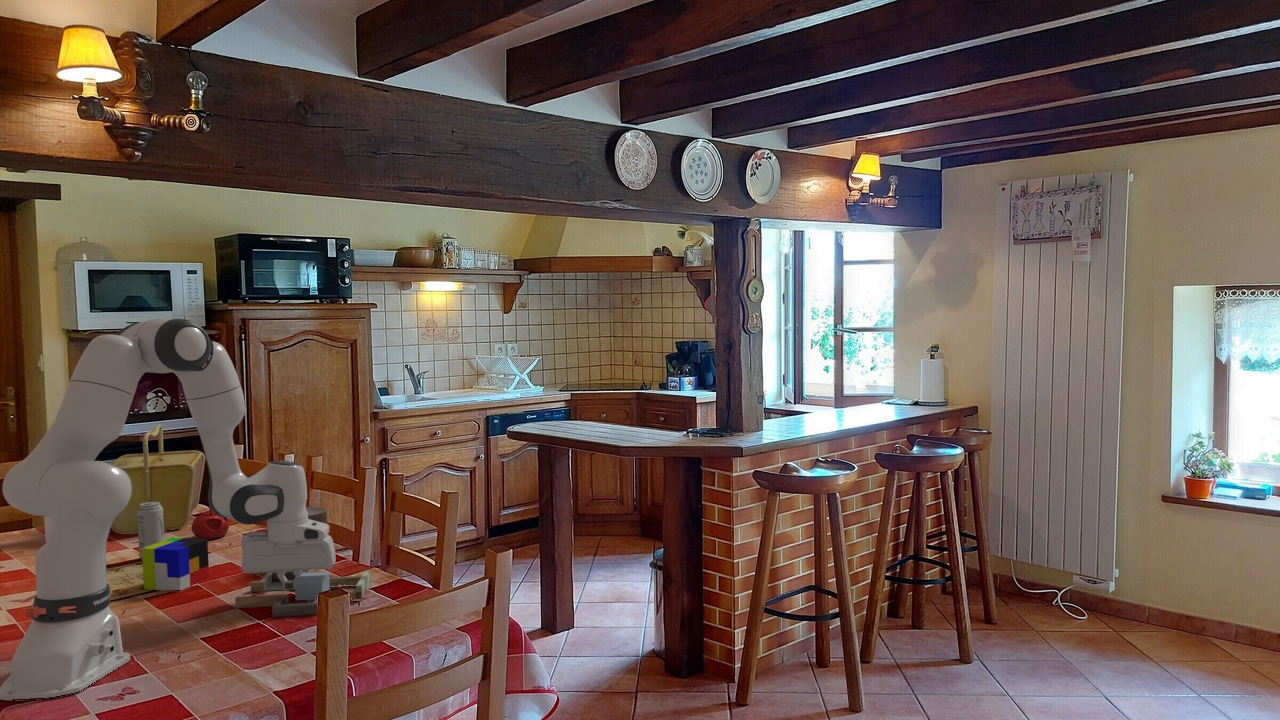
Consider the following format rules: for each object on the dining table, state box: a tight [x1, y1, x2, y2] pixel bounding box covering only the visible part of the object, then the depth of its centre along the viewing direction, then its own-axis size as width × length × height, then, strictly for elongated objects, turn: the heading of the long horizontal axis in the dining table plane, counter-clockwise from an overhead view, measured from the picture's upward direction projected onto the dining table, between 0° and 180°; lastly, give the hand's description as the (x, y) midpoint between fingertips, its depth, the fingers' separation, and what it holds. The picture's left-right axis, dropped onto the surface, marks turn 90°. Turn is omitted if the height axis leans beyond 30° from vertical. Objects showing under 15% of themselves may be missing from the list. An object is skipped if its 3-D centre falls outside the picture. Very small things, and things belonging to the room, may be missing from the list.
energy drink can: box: [137, 502, 165, 562], centre depth 234 cm, size 6×6×15 cm
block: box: [294, 571, 331, 601], centre depth 202 cm, size 6×6×4 cm
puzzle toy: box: [142, 536, 210, 591], centre depth 212 cm, size 10×10×10 cm
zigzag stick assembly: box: [234, 569, 372, 618], centre depth 202 cm, size 27×27×4 cm
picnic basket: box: [110, 424, 206, 535], centre depth 273 cm, size 29×26×30 cm
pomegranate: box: [191, 505, 230, 540], centre depth 256 cm, size 10×10×9 cm
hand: (290, 588), depth 202 cm, fingers closed
